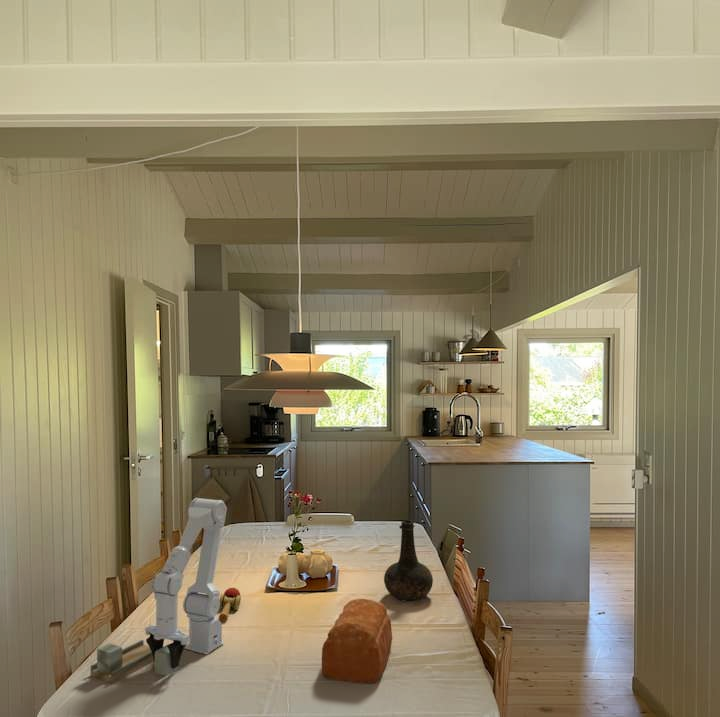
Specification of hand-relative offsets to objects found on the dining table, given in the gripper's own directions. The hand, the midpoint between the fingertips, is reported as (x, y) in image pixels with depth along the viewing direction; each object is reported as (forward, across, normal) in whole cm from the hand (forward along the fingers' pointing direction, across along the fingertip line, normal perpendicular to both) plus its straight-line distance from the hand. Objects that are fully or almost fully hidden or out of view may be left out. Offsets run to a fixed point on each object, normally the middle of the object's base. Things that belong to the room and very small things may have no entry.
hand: (166, 664), depth 173 cm
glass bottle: (+2, +38, +82) cm, 91 cm away
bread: (+2, +45, +30) cm, 54 cm away
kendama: (+2, -12, +41) cm, 42 cm away
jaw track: (+2, -12, -3) cm, 12 cm away
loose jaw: (+2, 0, 0) cm, 2 cm away
